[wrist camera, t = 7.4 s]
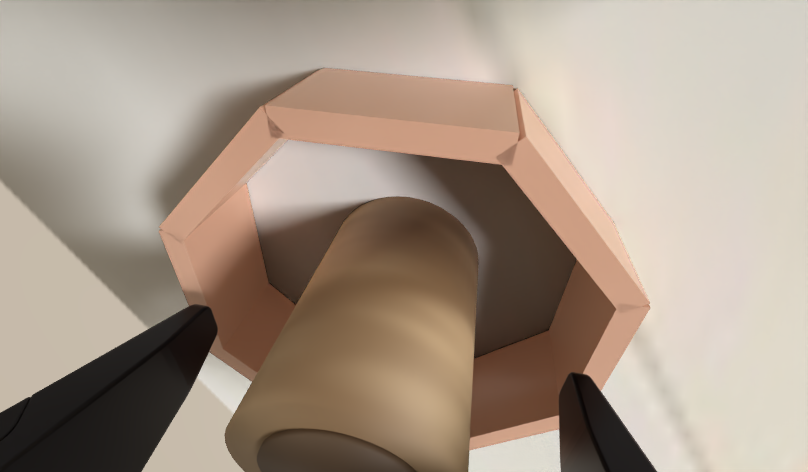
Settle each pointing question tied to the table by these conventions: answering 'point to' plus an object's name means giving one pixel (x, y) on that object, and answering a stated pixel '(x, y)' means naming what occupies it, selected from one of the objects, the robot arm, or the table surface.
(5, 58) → the table surface
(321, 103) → the pink octagonal ring
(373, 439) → the oak tube
